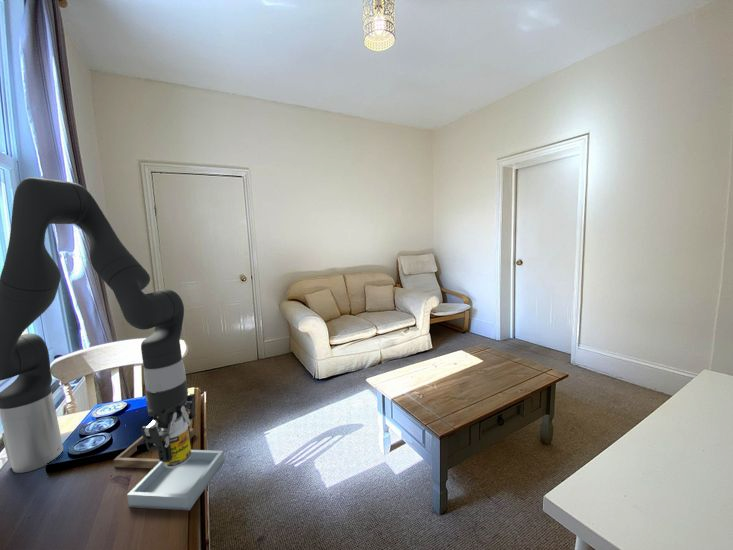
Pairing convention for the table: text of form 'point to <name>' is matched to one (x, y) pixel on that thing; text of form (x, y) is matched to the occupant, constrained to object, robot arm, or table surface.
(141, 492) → the bin
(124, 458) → the corral
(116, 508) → the table surface
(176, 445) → the supplement bottle
